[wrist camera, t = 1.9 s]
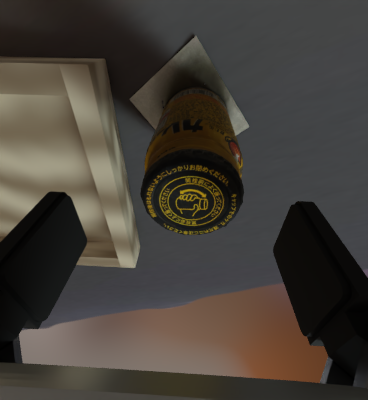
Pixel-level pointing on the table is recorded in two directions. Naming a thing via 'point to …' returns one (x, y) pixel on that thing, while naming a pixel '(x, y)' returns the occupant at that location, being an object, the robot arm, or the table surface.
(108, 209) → the tray
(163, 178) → the condiment
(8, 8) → the table surface
